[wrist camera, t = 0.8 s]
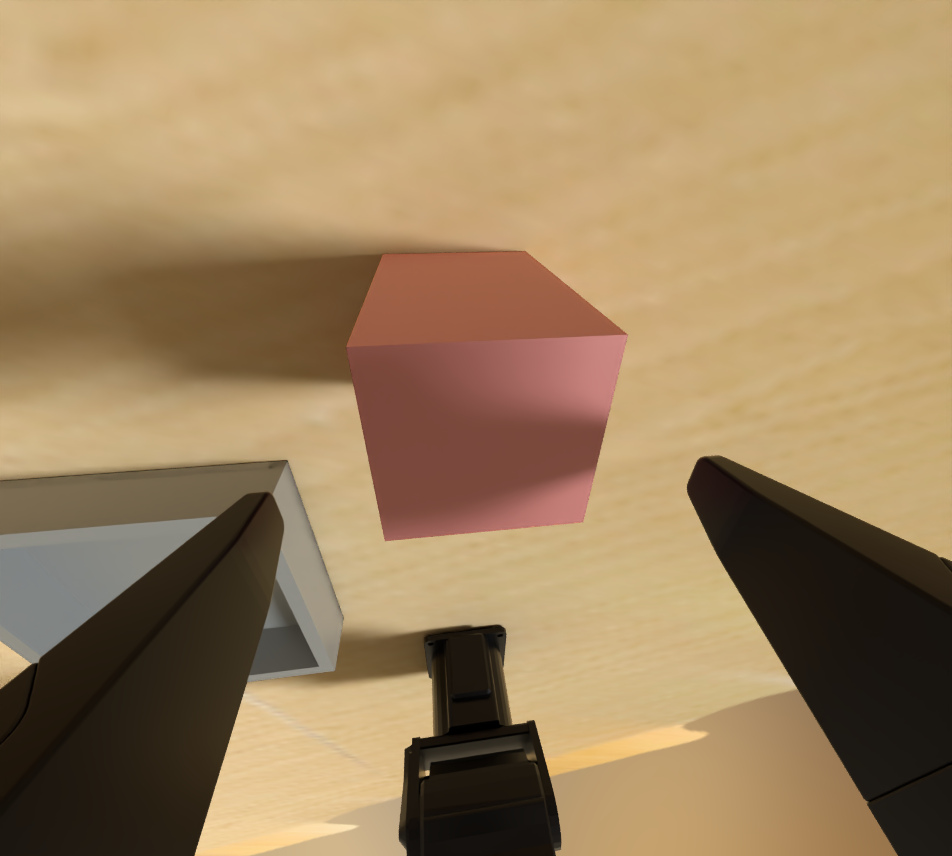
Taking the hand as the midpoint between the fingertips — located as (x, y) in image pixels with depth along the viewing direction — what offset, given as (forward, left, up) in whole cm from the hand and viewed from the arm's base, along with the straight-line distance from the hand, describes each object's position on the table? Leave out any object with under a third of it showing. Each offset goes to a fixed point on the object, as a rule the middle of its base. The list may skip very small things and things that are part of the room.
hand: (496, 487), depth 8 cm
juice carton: (0, 0, -10) cm, 10 cm away
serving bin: (-14, +16, -10) cm, 23 cm away
